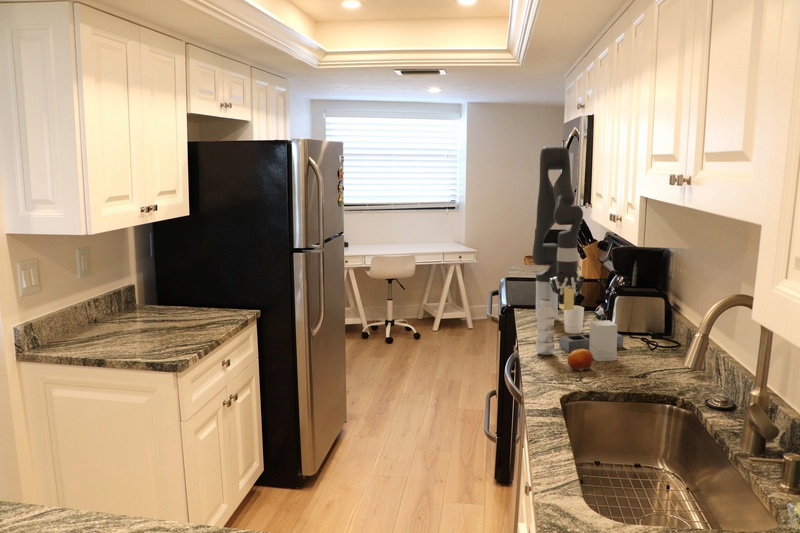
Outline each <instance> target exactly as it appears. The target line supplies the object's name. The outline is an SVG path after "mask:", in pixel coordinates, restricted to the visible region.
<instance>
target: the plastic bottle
mask: <svg viewBox="0 0 800 533" xmlns="http://www.w3.org/2000/svg"><path fill="white" fill-rule="evenodd" d="M540 305H541V307H540V308H539V310H538V311H537V314H536V313H535V318H536V317H537V319H536V323H537V334H536V335H537V336H536V342H535V351H536V353H537V354H538V355H541V356H549V355H552V354H553V353H555V341H554V324H555V321H556V320H555V312H554V311H553V309H552V308H551V300H550V299H541V300H540ZM554 320H555V321H554Z"/></svg>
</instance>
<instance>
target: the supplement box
mask: <svg viewBox="0 0 800 533" xmlns="http://www.w3.org/2000/svg"><path fill="white" fill-rule="evenodd" d="M589 334H590V341H589V351H590V352H591V354H592V355H593V359H594V361H595V362H612V361H614V360H615V361H617V355H618V353H617V352H618V350H617V348H618V347H617V334H618V324H616V323H615V322H613V321H611V320H594V321H593V320H591V321H589Z"/></svg>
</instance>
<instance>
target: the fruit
mask: <svg viewBox="0 0 800 533" xmlns="http://www.w3.org/2000/svg"><path fill="white" fill-rule="evenodd" d="M567 364H568V366H569V367H570V369H572V370H575V371H580V372H583V370H592V368H591V366H592V364H593V355H592V354H591V352H590V351H589V350H586V349H577V350H574V351H572V352H569V354H568V355H567Z"/></svg>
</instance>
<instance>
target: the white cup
mask: <svg viewBox="0 0 800 533" xmlns="http://www.w3.org/2000/svg"><path fill="white" fill-rule="evenodd" d="M584 310H585V307H583V306H581V305H576V304H574V309H573V310H563V324H564V333H567V334H572V335H579V334H581V333H582V331H583V323H584V312H585V311H584Z"/></svg>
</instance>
